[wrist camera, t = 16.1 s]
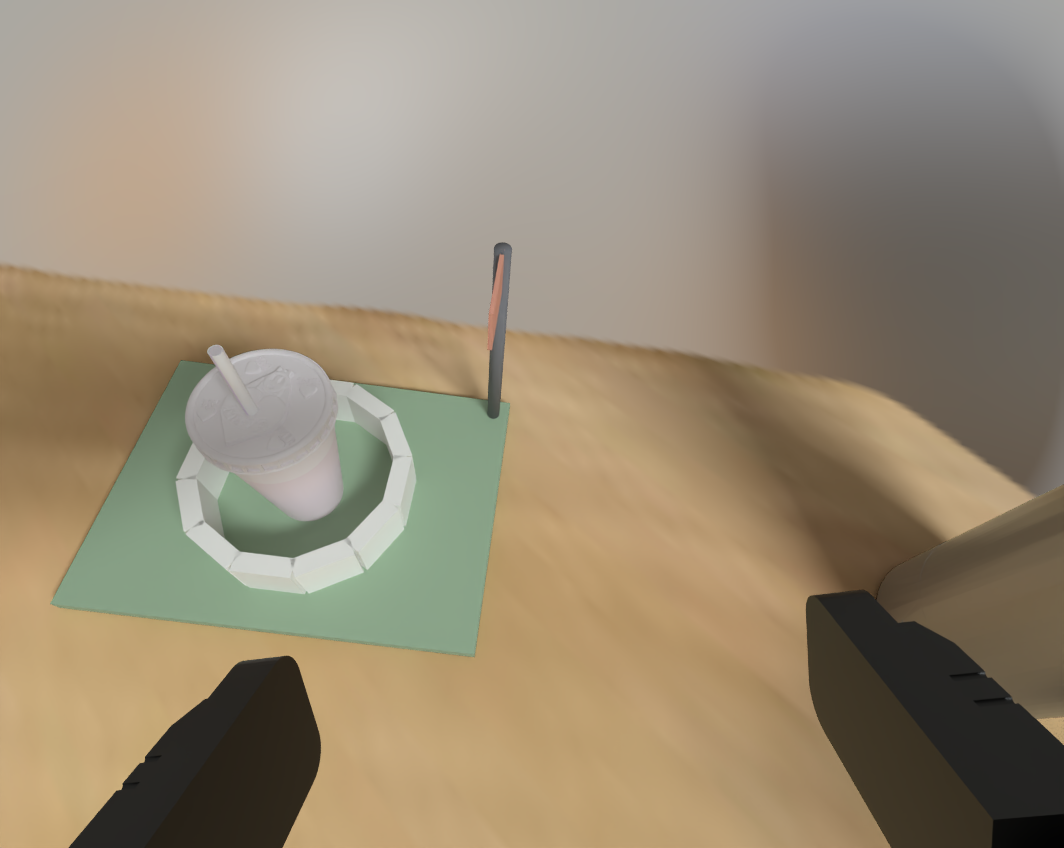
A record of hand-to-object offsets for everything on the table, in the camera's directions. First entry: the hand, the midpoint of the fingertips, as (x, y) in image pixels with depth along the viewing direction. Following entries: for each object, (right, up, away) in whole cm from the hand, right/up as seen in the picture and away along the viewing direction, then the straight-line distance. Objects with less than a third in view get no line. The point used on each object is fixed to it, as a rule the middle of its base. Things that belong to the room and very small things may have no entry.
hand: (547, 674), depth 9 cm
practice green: (-13, 0, +26) cm, 29 cm away
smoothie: (-13, 0, +25) cm, 28 cm away
